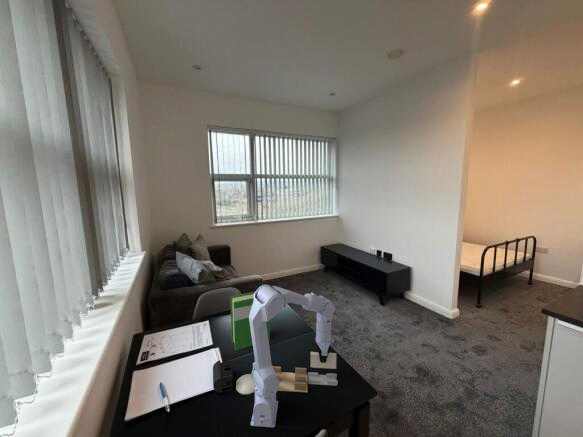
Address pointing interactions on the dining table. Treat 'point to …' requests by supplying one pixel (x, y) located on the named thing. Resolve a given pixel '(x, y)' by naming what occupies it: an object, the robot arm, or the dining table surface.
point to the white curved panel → (329, 363)
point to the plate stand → (322, 379)
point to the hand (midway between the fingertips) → (322, 360)
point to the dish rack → (292, 380)
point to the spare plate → (245, 384)
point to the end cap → (222, 376)
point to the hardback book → (242, 320)
